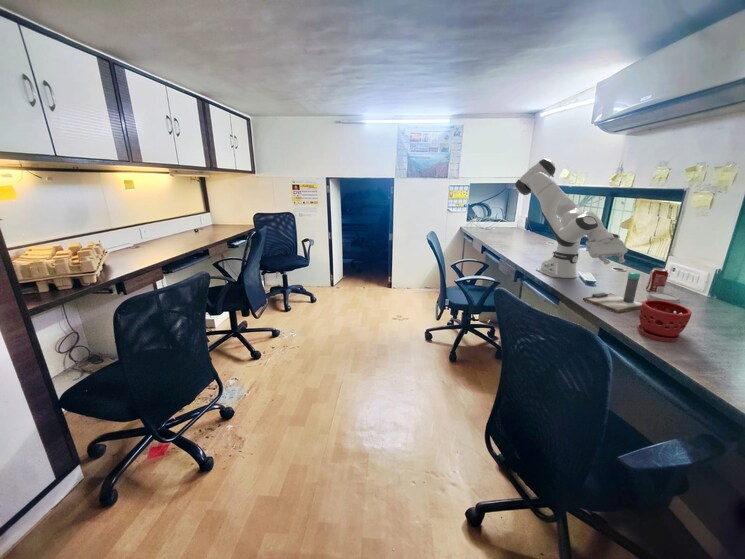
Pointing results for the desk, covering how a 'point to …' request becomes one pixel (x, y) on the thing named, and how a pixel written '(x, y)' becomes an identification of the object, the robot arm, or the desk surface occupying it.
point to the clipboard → (612, 302)
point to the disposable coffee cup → (663, 298)
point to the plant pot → (662, 320)
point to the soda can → (657, 280)
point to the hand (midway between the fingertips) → (615, 263)
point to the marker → (631, 287)
